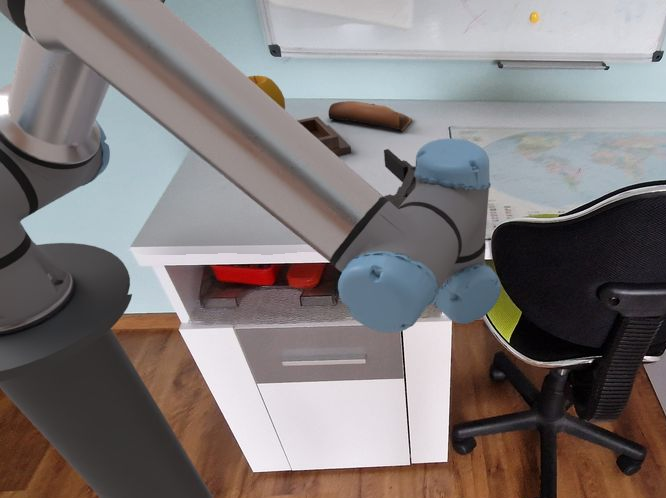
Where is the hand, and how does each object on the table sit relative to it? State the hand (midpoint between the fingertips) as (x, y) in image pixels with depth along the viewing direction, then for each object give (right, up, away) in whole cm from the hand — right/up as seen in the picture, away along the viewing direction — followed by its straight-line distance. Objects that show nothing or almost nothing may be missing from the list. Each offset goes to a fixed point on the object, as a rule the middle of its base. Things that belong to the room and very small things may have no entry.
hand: (346, 167), depth 82 cm
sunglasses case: (-4, +26, +45) cm, 52 cm away
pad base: (-15, +16, +34) cm, 40 cm away
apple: (-26, +21, +39) cm, 52 cm away
